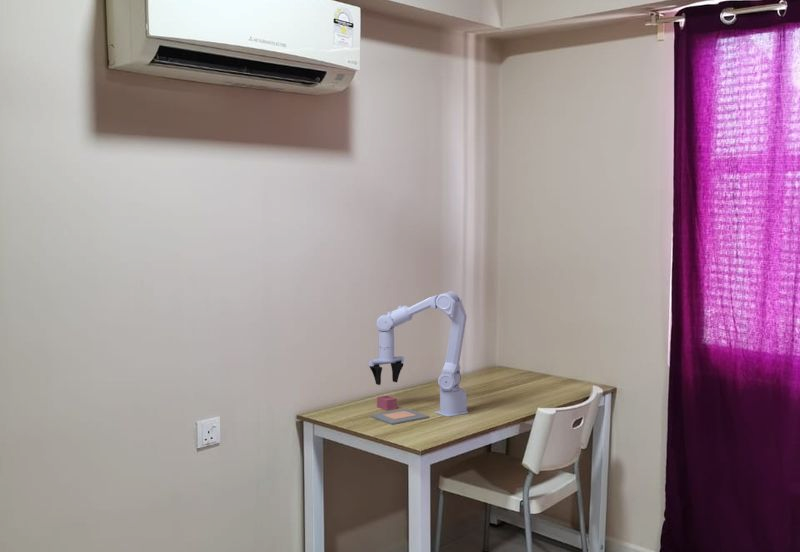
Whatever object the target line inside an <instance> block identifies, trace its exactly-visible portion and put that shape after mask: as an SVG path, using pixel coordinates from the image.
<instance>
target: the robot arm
mask: <svg viewBox="0 0 800 552" xmlns="http://www.w3.org/2000/svg"><path fill="white" fill-rule="evenodd" d="M430 308H431V309H438V310H439V311H441V312H442V313H444V314H446V315H447V317H449V319H450V320H451V323H450V330H449V337H448V343H447V349H446V354H445V355H446V356H445V363H444V365H443V367H442V370H441V374H440V375H439V377H438V378H437V384H438V386H439V410H436V411H434V413H435V414H438V415H442V416H444V417H447V418H448V417H455V416H460V415H465V414H469V411H468V409H467V406H468V403H467V400H468V396H467V392H466V390H465V389H464V388H463V387H460V383H461V381H462V375H461V366H460V361H461V355H462V350H463V349H462V348H463V341H464V335H465V331H466V329H465V328H466V324H467V323H466V322H467V318H468V317H467V314H466V310H465V308H464V305H463V300H462V298H461V297H460V296H459V295H458V293H457V292H455V291H451V290H450V291H446V292H444V293H440V294H437V295H433V296H430V297H428V298H426V299H424V300H422V301H419V302H417V303H415V304H414V305H412V306H408V305H399V306H397V308H396V309H394V310H392V311H390V310H389V311H387V314H382V315H380V316H379V317H378V318H377V319H376V323H375V325H376V327H377V329H378V358H374V359H371V360H368V366H369V369H370V371H371V373H372V376H373V378H374V382H375V385H378V386H381V385H382V384H381V383H382V371H383V367H382V365H388V364H390V367H391V372H392V373H391V375H392V382H394V383H398V381H399V377H400V374H401V371H402V369H403V367H404V361H405V357H404V356H400V355H399V356H395V330H394V329H395V327H399V326H401V325H403V324H405V323H407V322H410V321H411V320H412V319H413V316H414V315H416V314H419V313H420V312H423V311H425V310H428V309H430Z"/></svg>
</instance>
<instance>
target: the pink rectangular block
mask: <svg viewBox="0 0 800 552" xmlns="http://www.w3.org/2000/svg"><path fill="white" fill-rule="evenodd" d="M376 408H378V409H381V410H384V411H385V412H389V411H395V410H398V398H396V397H393V396H389V395H382V396H378V397H376Z"/></svg>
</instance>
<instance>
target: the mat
mask: <svg viewBox="0 0 800 552" xmlns="http://www.w3.org/2000/svg"><path fill="white" fill-rule="evenodd" d="M369 417H370V418H372V419H375V420H378V421H381V422H383V423H386V424H388V425H393V426H394V425H398V424H404V423H408V422H409V423H410V422H415V421H420V420H426V419H430V415H427V414H423V413H421V412H419V411H415V410H413V409H410V408H402V409H394V410H389V411H385V412H380V413H374V414H370V415H369Z"/></svg>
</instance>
